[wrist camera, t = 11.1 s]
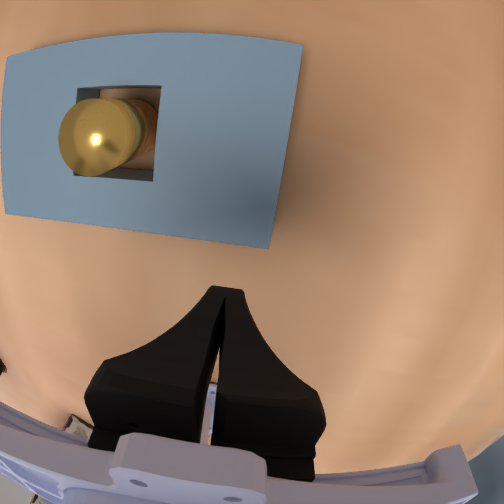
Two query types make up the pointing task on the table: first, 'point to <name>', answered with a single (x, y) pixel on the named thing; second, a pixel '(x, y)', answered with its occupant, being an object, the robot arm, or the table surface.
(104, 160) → the brass cylinder
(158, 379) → the robot arm
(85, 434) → the candy bar box
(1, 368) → the radio
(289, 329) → the table surface
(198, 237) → the jig
